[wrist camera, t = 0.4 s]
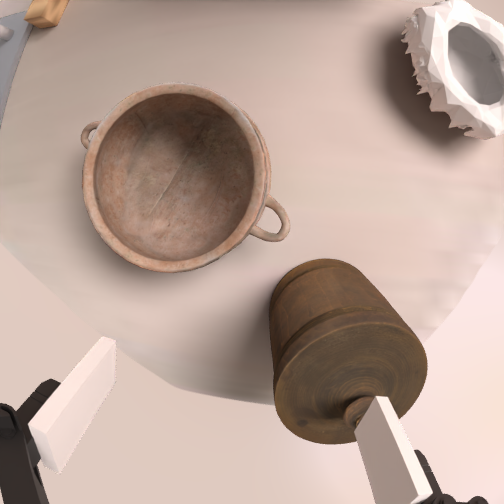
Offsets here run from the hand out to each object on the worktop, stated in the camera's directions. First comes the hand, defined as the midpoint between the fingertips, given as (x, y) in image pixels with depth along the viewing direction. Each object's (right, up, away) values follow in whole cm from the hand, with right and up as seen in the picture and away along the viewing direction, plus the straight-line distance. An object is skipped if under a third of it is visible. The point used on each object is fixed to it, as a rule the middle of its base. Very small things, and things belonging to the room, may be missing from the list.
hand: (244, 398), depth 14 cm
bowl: (+30, +33, +19) cm, 48 cm away
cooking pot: (-7, +16, +24) cm, 30 cm away
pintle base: (-50, +40, +20) cm, 67 cm away
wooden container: (+10, -1, +28) cm, 30 cm away
